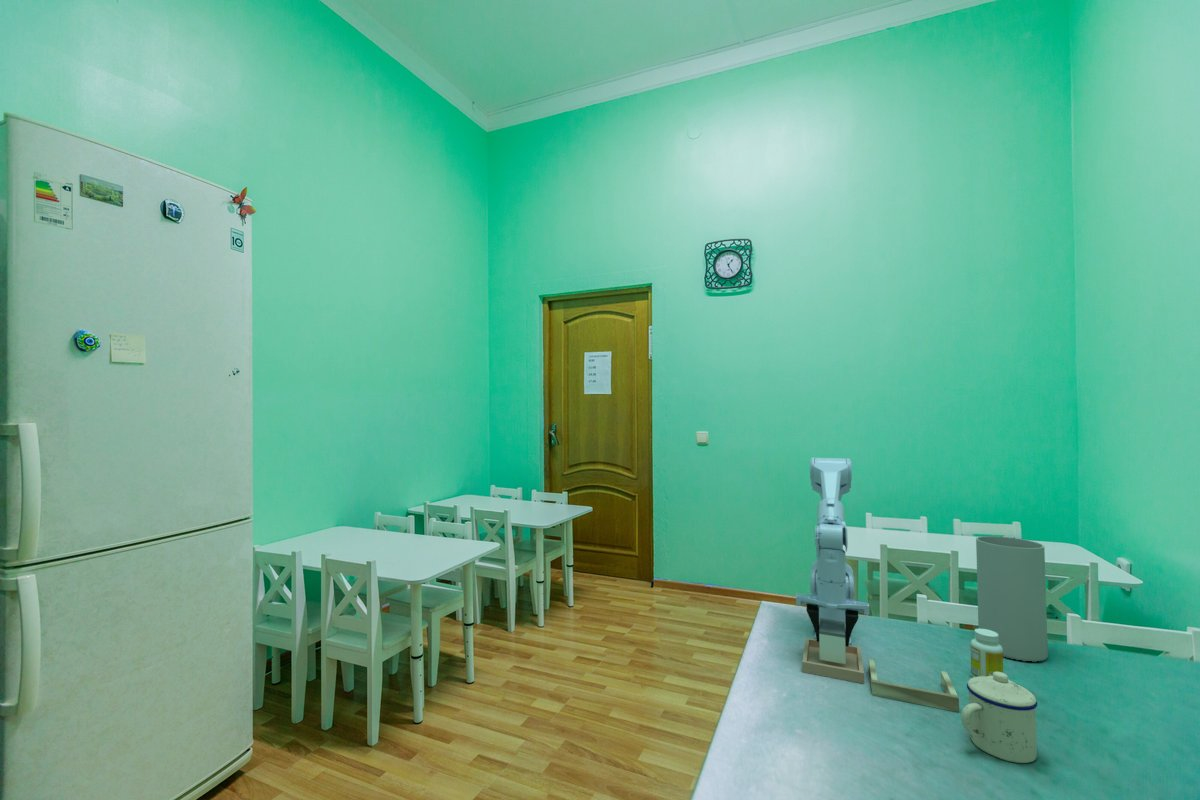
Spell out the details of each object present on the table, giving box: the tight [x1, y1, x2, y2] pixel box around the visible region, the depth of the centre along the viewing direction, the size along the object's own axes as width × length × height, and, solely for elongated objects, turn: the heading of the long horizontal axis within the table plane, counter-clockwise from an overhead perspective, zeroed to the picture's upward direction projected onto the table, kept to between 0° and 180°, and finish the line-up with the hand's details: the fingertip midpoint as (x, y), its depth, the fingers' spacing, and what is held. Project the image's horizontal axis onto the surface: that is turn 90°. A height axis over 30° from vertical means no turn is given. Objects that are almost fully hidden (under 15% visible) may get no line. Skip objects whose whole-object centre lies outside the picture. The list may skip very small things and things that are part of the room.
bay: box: [868, 658, 960, 713], centre depth 102 cm, size 11×14×2 cm
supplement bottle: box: [970, 628, 1004, 678], centre depth 106 cm, size 5×5×10 cm
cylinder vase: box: [975, 535, 1049, 663], centre depth 120 cm, size 12×12×25 cm
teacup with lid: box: [960, 672, 1038, 764], centre depth 84 cm, size 12×9×12 cm
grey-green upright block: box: [819, 618, 846, 664], centre depth 113 cm, size 8×5×6 cm, turn 156°
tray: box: [801, 637, 865, 685], centre depth 112 cm, size 14×12×2 cm
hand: (832, 642), depth 113 cm, fingers closed on grey-green upright block, 5 cm apart
